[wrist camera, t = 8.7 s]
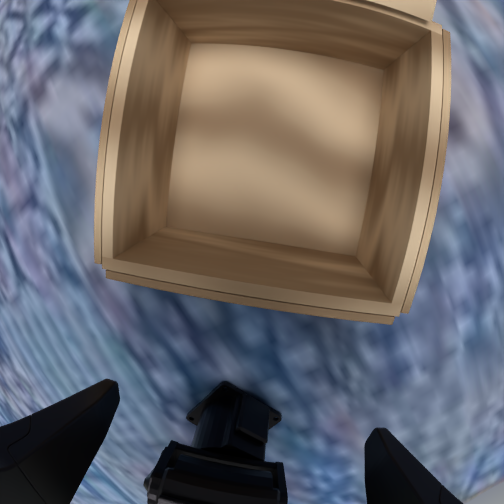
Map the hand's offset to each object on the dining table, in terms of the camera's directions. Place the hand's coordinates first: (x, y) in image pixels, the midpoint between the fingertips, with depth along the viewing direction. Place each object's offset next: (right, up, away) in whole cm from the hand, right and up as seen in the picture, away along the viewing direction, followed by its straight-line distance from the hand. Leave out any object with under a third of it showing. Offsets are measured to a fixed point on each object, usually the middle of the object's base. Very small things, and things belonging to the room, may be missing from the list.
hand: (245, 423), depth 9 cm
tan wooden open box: (+2, +13, +10) cm, 16 cm away
